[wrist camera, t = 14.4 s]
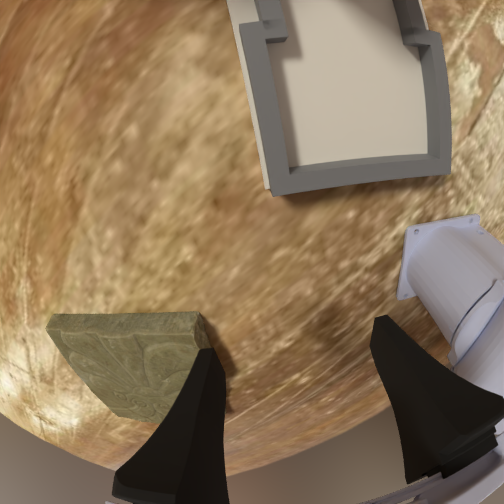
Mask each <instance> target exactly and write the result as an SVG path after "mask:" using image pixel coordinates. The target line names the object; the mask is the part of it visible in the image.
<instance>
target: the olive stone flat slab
mask: <svg viewBox="0 0 504 504" xmlns="http://www.w3.org/2000/svg"><path fill="white" fill-rule="evenodd" d="M46 331H47V333H48V334H49V336H50V337H51V339H52V340H53V342H54V343H55V345H56V346H57V348H58V349H59V351H60V352H61V354H62V355H63V357H64V358H65V359H66V361H67V362H68V364H69V365H70V366H71V367H72V369H73V370H74V371H75V372H76V373H77V375H78V376H79V377H80V378H81V379H82V380H83V381H84V382H85V383H86V385H87V386H88V387H89V388H90V390H91V391H92V392H93V393H94V394H95V395H96V396H97V397H98V398H99V399H100V400H101V401H102V402H103V403H104V404H105V405H107V406H108V407H109V409H110V410H111V411H112V412H113V413H115V414H116V415H117V416H118V417H125V418H130V419H134V420H138V421H141V422H151V423H161V422H162V421H163V419H164V418H165V417H166V415H167V413H168V412H169V410H170V409H171V407H172V405H173V403H174V402H175V400H176V398H177V396H178V395H179V393H180V391H181V389H182V387H183V385H184V383H185V381H186V379H187V377H188V374H189V372H190V370H191V368H192V365H193V363H194V361H195V358H196V356H197V353H198V351H199V350H200V349H205V348H212V347H211V346H210V342H209V340H208V335H207V334H206V333H205V325H204V323H203V319H202V317H201V315H200V313H199V312H197V311H193V312H165V313H122V314H53V315H52V316H51V319H50V321H49V323H48V324H47V326H46ZM225 414H226V407H225Z"/></svg>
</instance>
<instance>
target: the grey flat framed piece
mask: <svg viewBox="0 0 504 504" xmlns="http://www.w3.org/2000/svg"><path fill="white" fill-rule="evenodd" d="M226 1H227V5H228V10H229V14H230V18H231V23H232V27H233V31H234V36H235V40H236V45H237V50H238V54H239V59H240V63H241V68H242V73H243V78H244V82H245V87H246V92H247V97H248V102H249V107H250V112H251V117H252V122H253V127H254V132H255V138H256V143H257V148H258V153H259V159H260V164H261V169H262V175H263V180H264V186H265V189H270V190H271V193H272V196H273V197H275V196H281V195H286V194H292V193H299V192H305V191H311V190H318V189H324V188H331V187H338V186H345V185H352V184H360V183H368V182H376V181H385V180H393V179H403V178H413V177H423V176H434V175H447V174H451V152H452V130H451V107H450V94H449V84H448V76H447V68H446V62H445V56H444V50H443V45H442V40H441V35H440V33H438V32H434V31H430V30H429V29H428V24H427V20H426V17H425V13H424V9H423V6H422V3H421V0H226Z"/></svg>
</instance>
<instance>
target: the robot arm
mask: <svg viewBox="0 0 504 504" xmlns="http://www.w3.org/2000/svg"><path fill="white" fill-rule="evenodd" d="M479 222H480V216H479V215H478V214H471V215H466V216H461V217H455V218H450V219H444V220H439V221H433V222H428V223H423V224H417V225H412V226H409V227H407V229H406V231H405V239H404V248H403V256H402V263H401V270H400V277H399V283H398V289H397V294H396V297H397V299H398V300H404V299H407V298H411V297H414V296H418V297H419V299H420V300H421V302H422V303H423V305H424V306H425V308H426V309H427V311H428V312H429V314H430V315H431V317H432V318H433V320H434V321H435V323H436V324H437V326H438V327H439V329H440V331H441V332H442V334H443V335H444V337H445V339H446V340H447V342H448V343H449V345H450V347H451V350H450V352H449V354H448V355H447V357H448V359H449V361H450V363H451V364H452V367H451V368H450V370H449V369H448V368H446V367H445V366H444V365H442V364H441V363H439V362H438V361H437V360H436V359H434V358H433V357H432V356H431V355H430V354H428V353H427V352H426V351H425V350H424V349H423V348H421V347H420V346H419V345H418V344H417V343H416V342H415V341H414V340H413V339H412V338H411V337H410V336H408V335H407V334H406V333H405V332H404V331H403V330H402V329H401V328H400V327H399V326H398V325H397V324H396V323H395V322H394V321H393V320H392V319H391V318H390V317H389V316H388V315H383V316H380V317H376V318H375V319H374V325H373V331H372V336H371V341H370V349H371V353H372V356H373V359H374V363H375V366H376V368H377V371H378V373H379V375H380V378H381V380H382V382H383V385H384V387H385V389H386V392H387V394H388V397H389V399H390V402H391V404H392V407H393V410H394V414H395V418H396V422H397V426H398V430H399V435H400V439H401V445H402V452H403V458H404V468H405V478H406V482H407V484H410V483H412V482H415V481H417V480H419V479H422V478H424V477H426V476H428V478H427V479H425V480H422V481H420V482H418V483H416V484H413V485H411V486H408V487H406V488H404V489H401V490H398V491H396V492H393V493H390V494H387V495H385V496H382V497H379V498H376V499H372V500H370V501H366V502H362V503H359V504H397V503H400V502H402V501H405V500H407V499H410V498H412V497H415V496H416V497H415V498H414V500H413V502H410V503H407V504H478V503H480V502H481V501H482V500H484V499H485V498H486V497H487V496H489V495H490V494H491V493H492V492H493V491H495V490H496V489H497V488H498V487H499V486H500V485H502V483H504V245H503V244H502V243H501V242H500V241H498V240H497V239H496V238H495V237H494V236H492V235H491V234H490V233H489V232H488V231H486V230H485V229H484V228H483V227H481V226H480V225H479ZM416 229H417V230H416ZM415 230H416V232H414V231H415ZM225 404H226V379H225V372H224V369H223V367H222V365H221V363H220V361H219V359H218V357H217V355H216V352H215V350H214V348H205V349H200V350H199V351H198V353H197V356H196V358H195V361H194V363H193V365H192V368H191V370H190V372H189V374H188V377H187V379H186V381H185V383H184V385H183V387H182V389H181V391H180V393H179V395H178V396H177V398H176V400H175V402H174V403H173V405H172V407H171V409H170V410H169V412H168V413H167V415H166V417H165V418H164V419H163V421H162V422H161V424H160V425H159V427H158V428H157V429H156V431H155V432H154V433H153V434H152V436H151V437H150V438H149V439H148V441H147V442H146V443H145V444H144V445H143V446H142V447H141V448H140V449H139V450H138V451H137V452H136V453H135V455H133V456H132V457H131V458H130V459H129V460H128V461H127V462H126V463H125V464H124V465H122V466H121V467H120V468H119V469H118V470H117V471H116V473H115V476H114V482H113V490H112V495H113V496H114V497H116V498H119V499H122V500H125V501H128V502H131V503H133V504H230V503H229V498H228V490H227V482H226V473H225V461H224V445H223V433H224V419H225ZM494 434H500V435H498V436H497V437H496V438H495V435H494ZM105 504H118V503H114V502H110V501H105Z"/></svg>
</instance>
